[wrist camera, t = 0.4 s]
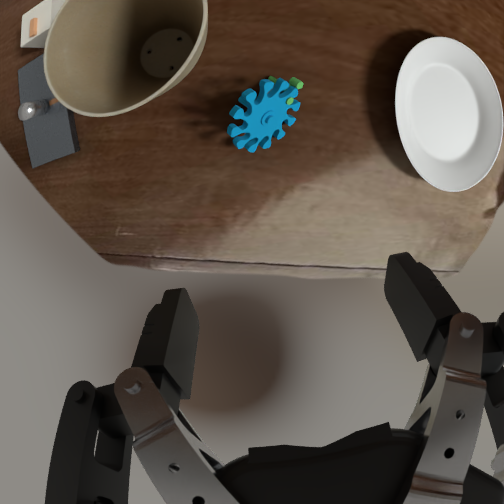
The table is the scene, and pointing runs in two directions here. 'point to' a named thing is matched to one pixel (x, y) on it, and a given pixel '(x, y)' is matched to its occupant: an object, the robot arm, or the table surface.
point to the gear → (264, 113)
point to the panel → (44, 117)
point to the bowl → (448, 114)
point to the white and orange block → (39, 23)
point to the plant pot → (121, 51)
